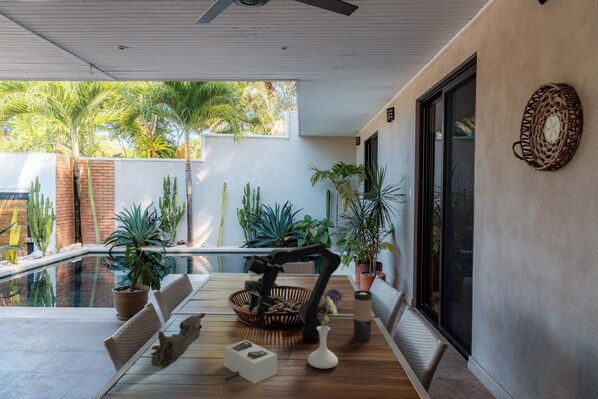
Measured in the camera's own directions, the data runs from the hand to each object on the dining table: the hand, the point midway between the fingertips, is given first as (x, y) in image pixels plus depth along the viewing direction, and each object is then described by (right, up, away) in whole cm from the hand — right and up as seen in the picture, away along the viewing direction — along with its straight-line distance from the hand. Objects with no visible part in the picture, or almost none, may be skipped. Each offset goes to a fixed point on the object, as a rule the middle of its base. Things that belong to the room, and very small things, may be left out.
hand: (252, 314), depth 160 cm
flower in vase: (+28, -15, -13) cm, 34 cm away
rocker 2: (+4, -7, -22) cm, 24 cm away
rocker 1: (-2, -7, -16) cm, 17 cm away
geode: (+38, -13, +58) cm, 70 cm away
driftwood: (-28, -14, -1) cm, 31 cm away
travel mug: (+46, -14, +14) cm, 50 cm away
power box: (-1, -14, -20) cm, 25 cm away
